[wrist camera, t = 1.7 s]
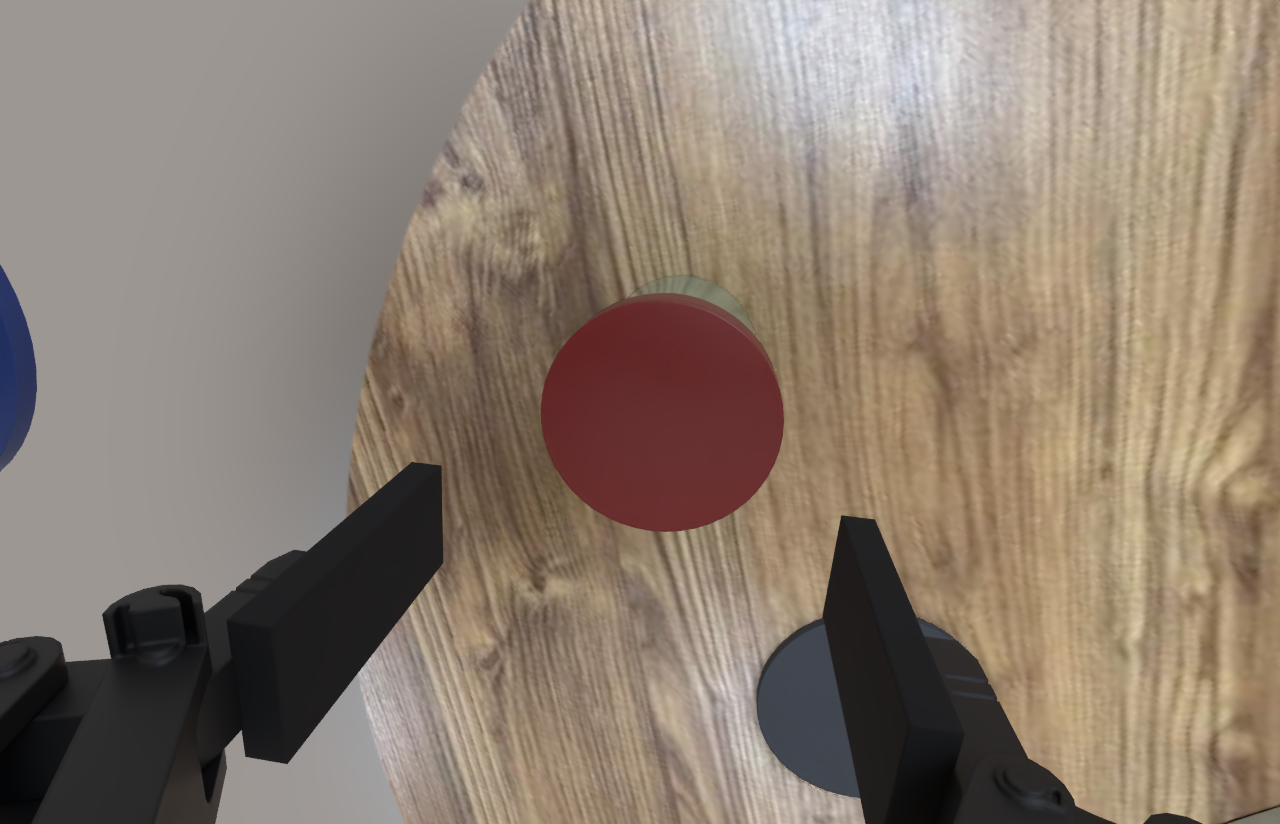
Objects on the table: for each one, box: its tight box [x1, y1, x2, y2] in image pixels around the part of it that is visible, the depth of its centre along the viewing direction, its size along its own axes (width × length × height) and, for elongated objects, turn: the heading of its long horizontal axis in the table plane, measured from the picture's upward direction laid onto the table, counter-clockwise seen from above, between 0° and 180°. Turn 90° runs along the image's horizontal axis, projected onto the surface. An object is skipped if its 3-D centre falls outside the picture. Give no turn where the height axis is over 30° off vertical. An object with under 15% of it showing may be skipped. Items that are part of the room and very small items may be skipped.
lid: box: [541, 293, 784, 532], centre depth 26 cm, size 9×9×2 cm
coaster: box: [757, 618, 956, 798], centre depth 40 cm, size 13×13×1 cm
